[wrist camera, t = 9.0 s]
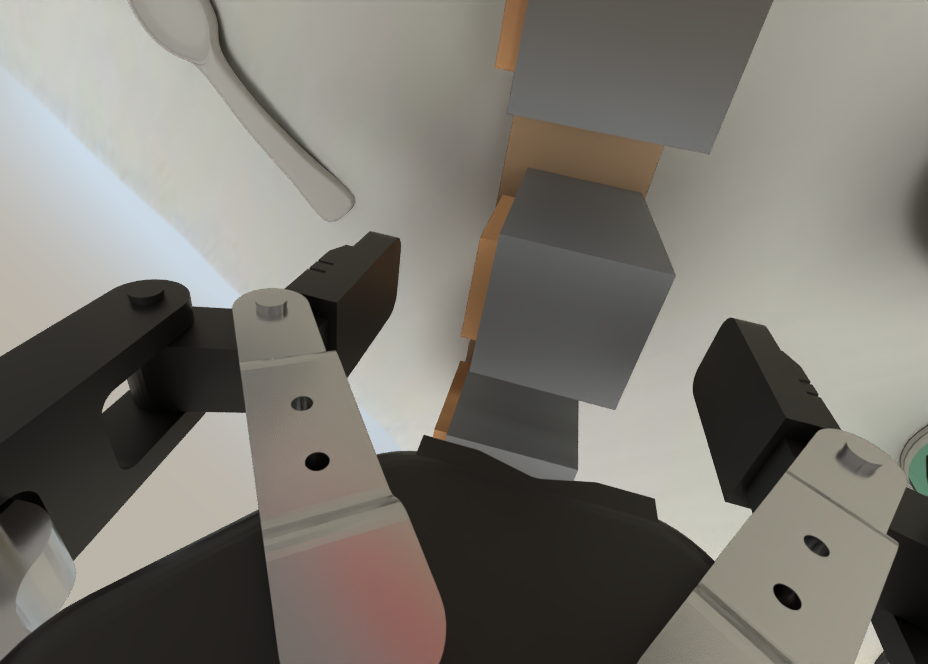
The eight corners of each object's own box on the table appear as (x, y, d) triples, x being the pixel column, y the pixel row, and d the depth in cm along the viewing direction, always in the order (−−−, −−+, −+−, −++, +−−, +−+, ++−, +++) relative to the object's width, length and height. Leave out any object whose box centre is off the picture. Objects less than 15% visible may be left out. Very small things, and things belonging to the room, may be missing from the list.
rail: (576, -160, 15) (570, -437, 6) (744, -136, 14) (985, -400, 6) (464, 392, 26) (410, 555, 18) (554, 415, 26) (541, 594, 18)
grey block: (641, 192, 16) (675, 275, 11) (604, 294, 19) (614, 410, 13) (514, 164, 17) (478, 228, 11) (491, 266, 19) (451, 366, 13)
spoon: (167, -71, 18) (128, -78, 17) (374, 188, 23) (360, 202, 21) (129, -13, 20) (91, -14, 18) (333, 221, 24) (316, 237, 22)
